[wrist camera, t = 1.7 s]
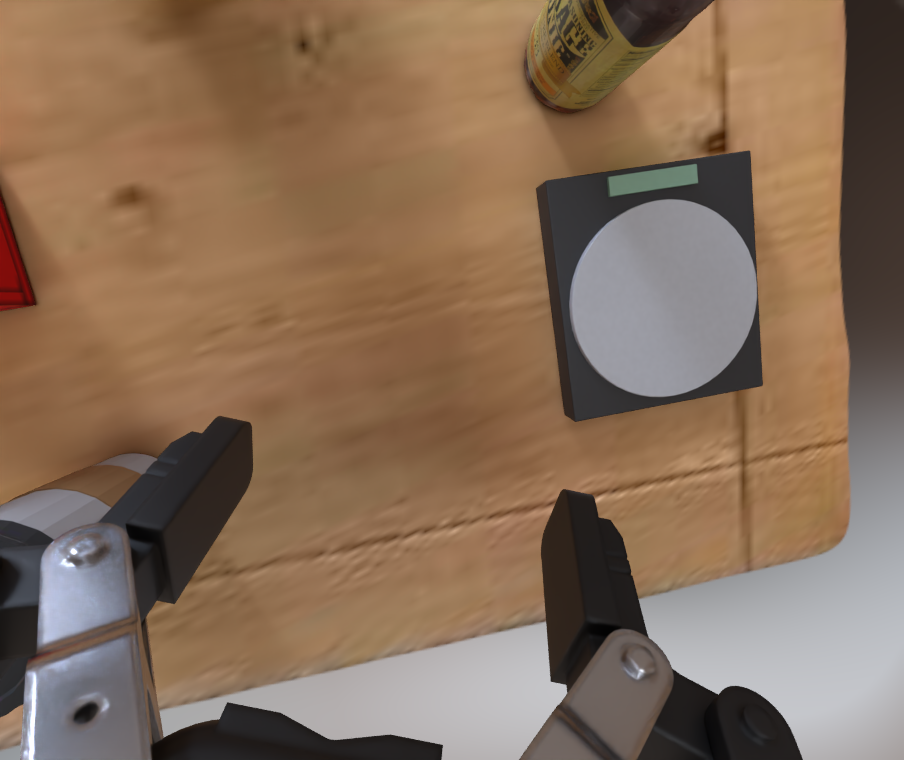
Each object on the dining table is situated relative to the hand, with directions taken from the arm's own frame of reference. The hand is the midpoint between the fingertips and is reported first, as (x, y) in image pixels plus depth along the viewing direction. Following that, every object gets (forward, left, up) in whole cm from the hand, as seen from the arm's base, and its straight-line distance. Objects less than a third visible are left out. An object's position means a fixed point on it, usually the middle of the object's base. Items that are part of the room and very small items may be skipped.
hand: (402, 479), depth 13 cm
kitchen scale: (-2, +18, -22) cm, 29 cm away
